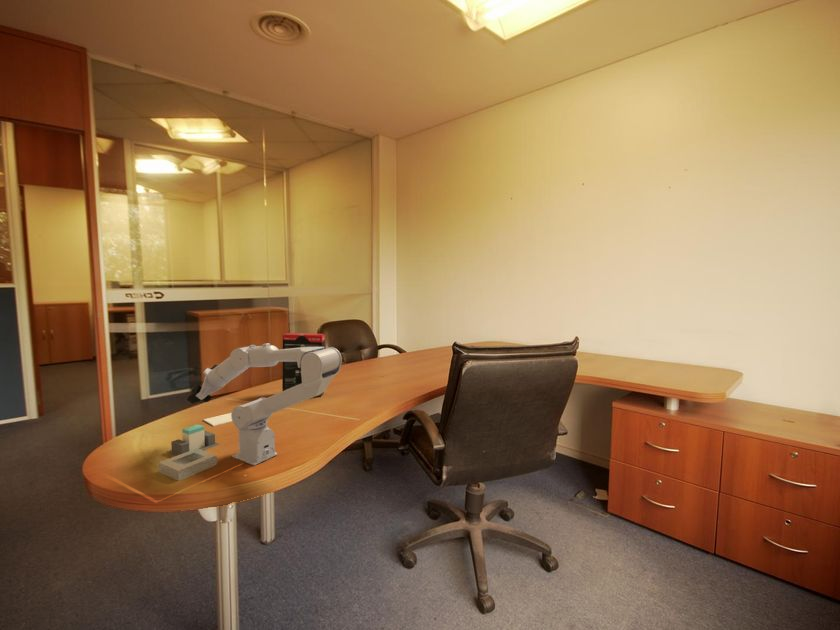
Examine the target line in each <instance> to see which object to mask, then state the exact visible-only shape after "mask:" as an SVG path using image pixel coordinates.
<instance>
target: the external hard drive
mask: <svg viewBox="0 0 840 630" xmlns="http://www.w3.org/2000/svg"><path fill="white" fill-rule="evenodd" d="M231 414H232V412H229V413H225V414H221V415H217V416H212V417H207V418H204V419H202V421H203V422H204V423H206V424H208V425H210V426H212V427H216V426H220V425H224V424H228V423H233V421H232V417H231Z"/></svg>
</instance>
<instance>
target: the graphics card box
mask: <svg viewBox="0 0 840 630" xmlns="http://www.w3.org/2000/svg"><path fill="white" fill-rule="evenodd" d="M325 336H326V335H325V334H324V333H301V332H298V333H297V332H285V333H282V349H291V348H301V347H325V338H326V337H325ZM322 350H323V349H322ZM281 381H282V384H281V385H282V391H285V390H287V389H289V388H292V387H294V386H297V385H299V384H301V383H302V376H301V368H298V364H297V362H282V380H281ZM282 391H281V392H282ZM324 393H325V391H324V392H323V393H322V394H320V395H317V396H315V397H318V398H319V397H322V396H323V394H324ZM315 397H314V398H315Z"/></svg>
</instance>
